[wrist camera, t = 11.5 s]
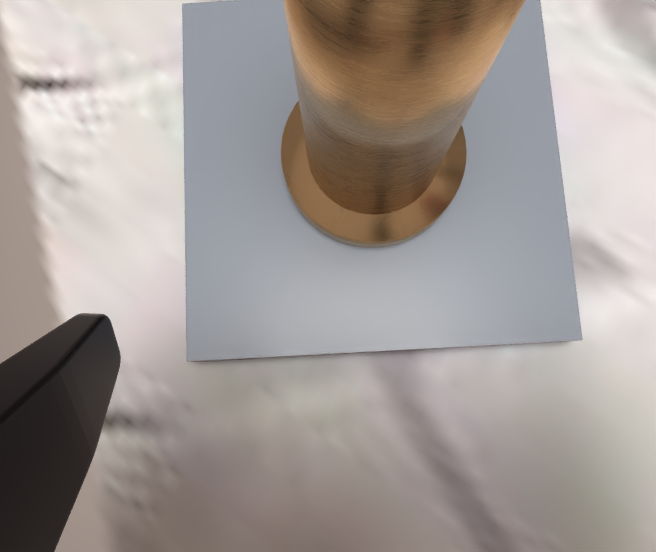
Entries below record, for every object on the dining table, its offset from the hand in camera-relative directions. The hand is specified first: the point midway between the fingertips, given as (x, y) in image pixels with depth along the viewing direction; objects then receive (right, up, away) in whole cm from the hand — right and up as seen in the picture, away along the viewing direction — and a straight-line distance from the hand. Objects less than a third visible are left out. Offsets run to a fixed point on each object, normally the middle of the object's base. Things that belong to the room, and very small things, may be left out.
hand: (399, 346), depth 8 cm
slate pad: (0, +5, +10) cm, 11 cm away
